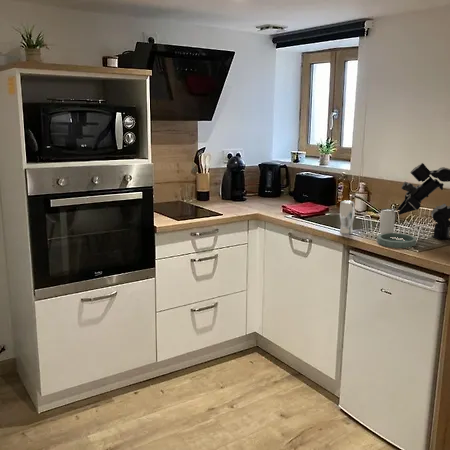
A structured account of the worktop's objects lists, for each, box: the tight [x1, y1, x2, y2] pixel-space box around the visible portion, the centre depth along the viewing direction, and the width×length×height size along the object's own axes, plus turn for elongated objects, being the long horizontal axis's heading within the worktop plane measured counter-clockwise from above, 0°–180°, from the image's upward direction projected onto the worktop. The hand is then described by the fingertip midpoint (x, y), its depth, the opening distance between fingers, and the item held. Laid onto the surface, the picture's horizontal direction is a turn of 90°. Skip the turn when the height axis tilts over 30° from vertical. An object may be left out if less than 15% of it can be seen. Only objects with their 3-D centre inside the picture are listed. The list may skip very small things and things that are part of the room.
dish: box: [377, 232, 418, 249], centre depth 222 cm, size 16×16×2 cm
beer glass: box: [339, 200, 356, 235], centre depth 240 cm, size 7×7×15 cm
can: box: [378, 208, 396, 234], centre depth 235 cm, size 6×6×12 cm
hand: (398, 211), depth 233 cm, fingers open, 9 cm apart
